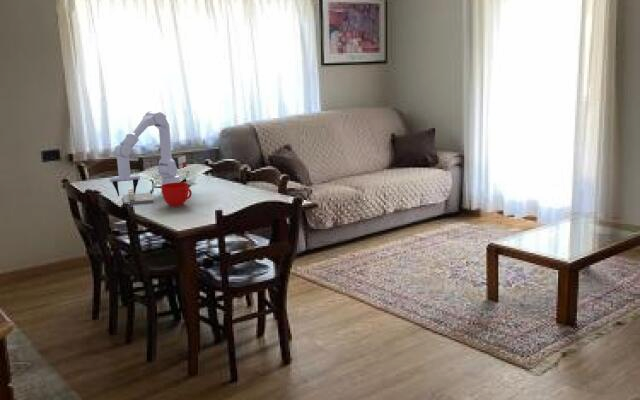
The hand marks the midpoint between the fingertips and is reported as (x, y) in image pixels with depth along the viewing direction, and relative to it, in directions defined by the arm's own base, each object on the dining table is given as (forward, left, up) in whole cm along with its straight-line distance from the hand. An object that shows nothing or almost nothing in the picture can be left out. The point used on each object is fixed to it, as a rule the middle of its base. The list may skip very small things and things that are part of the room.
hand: (126, 195), depth 306 cm
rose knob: (-2, 0, -1) cm, 3 cm away
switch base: (-5, 0, -3) cm, 6 cm away
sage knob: (-2, +6, -1) cm, 7 cm away
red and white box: (-32, -42, -3) cm, 54 cm away
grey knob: (-2, -6, -1) cm, 7 cm away
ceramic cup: (-23, +22, -3) cm, 32 cm away
